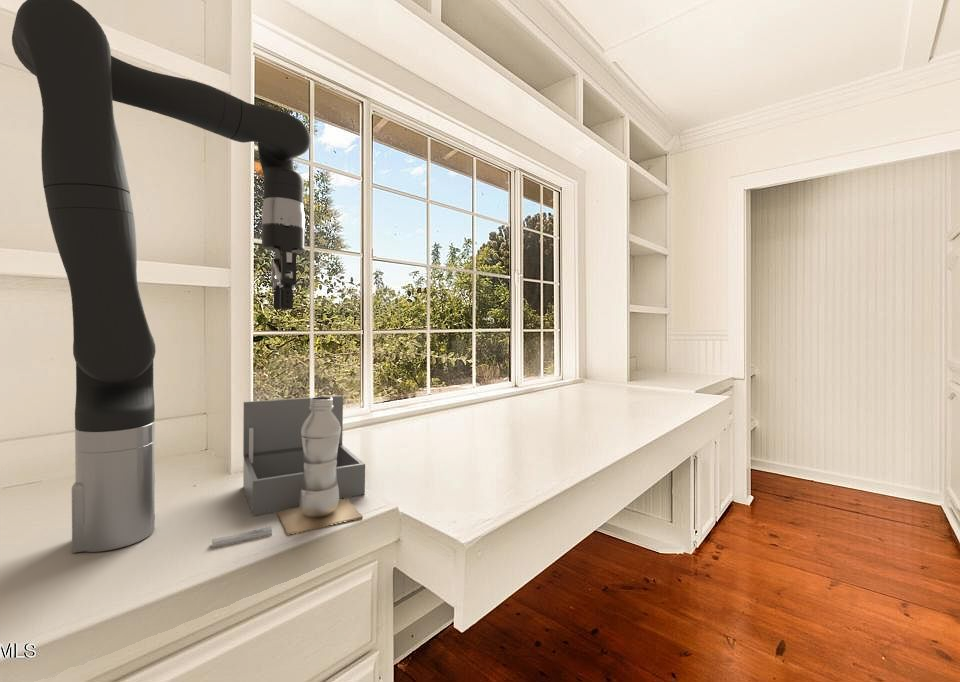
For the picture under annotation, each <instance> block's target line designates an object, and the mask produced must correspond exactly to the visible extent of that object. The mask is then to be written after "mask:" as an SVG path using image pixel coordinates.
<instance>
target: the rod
mask: <svg viewBox="0 0 960 682" xmlns="http://www.w3.org/2000/svg"><path fill="white" fill-rule="evenodd" d="M268 535H270V536H272V535H273V529H272V526H269V527H262V528H258V529H254V530H253V529H252V530H249V531H245V532H241V533H235V534H231V535H226V536H221V537H220V536H219V537H217V538H212V539H211V548H212V549H215V548H219V547H221V548H222V547H225V546H228V545H227V544H230V545H233V544H232V543H234V544H238V543H242V542H247V541H252V540H256V539H260V538H259V537H261V538H265V537H269V536H268ZM264 536H265V537H264ZM255 538H256V539H255ZM251 539H252V540H251ZM237 542H238V543H237ZM224 545H225V546H224Z"/></svg>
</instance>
